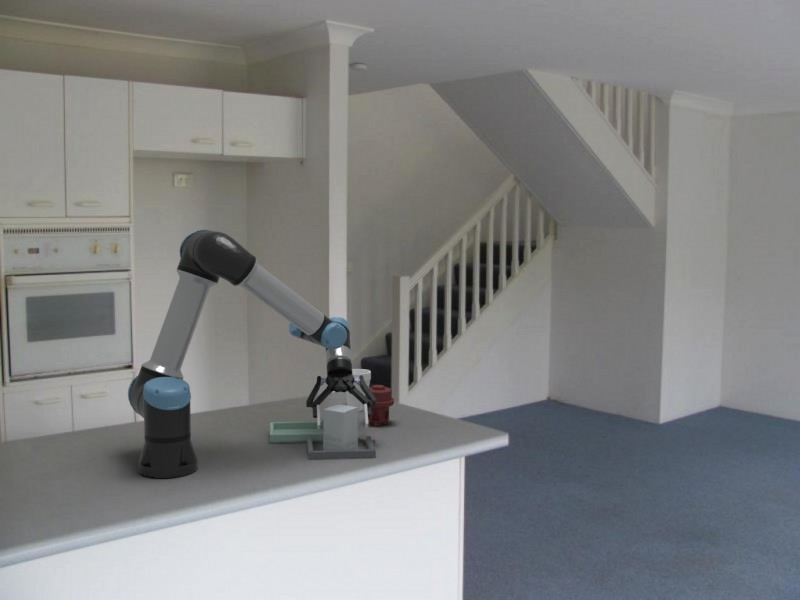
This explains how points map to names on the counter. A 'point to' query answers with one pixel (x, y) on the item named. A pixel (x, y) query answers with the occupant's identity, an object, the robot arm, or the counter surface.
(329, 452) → the dock
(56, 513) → the counter surface
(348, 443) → the supplement box
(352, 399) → the foam cup
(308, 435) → the tray
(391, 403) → the mechanical component
